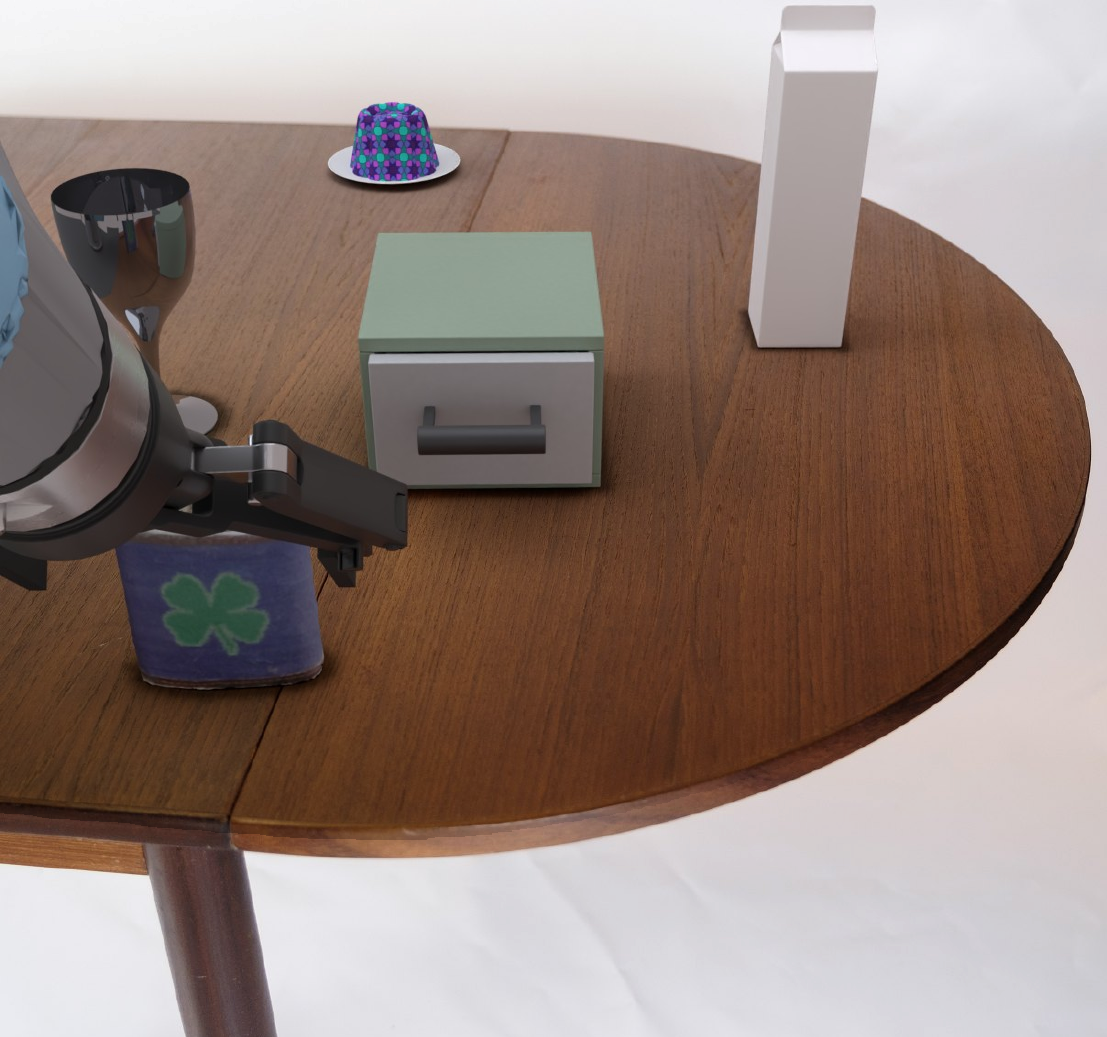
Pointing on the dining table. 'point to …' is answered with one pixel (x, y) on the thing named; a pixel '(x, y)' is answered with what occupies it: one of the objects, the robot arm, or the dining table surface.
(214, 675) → the flask
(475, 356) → the drawer
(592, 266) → the cabinet
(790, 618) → the dining table surface
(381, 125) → the pudding
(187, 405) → the wine glass
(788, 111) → the milk
